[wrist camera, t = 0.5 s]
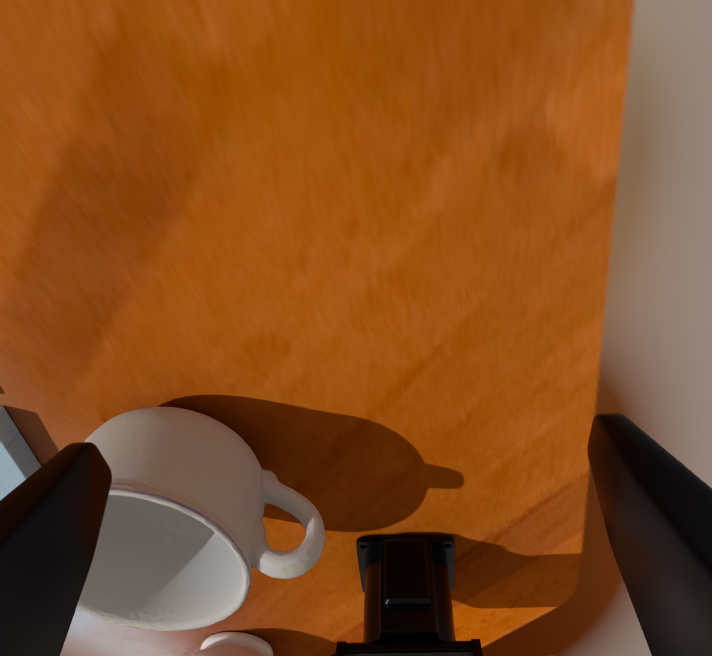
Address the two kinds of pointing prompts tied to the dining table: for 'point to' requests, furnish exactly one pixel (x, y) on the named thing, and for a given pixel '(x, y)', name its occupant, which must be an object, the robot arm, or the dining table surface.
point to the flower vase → (234, 645)
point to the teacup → (186, 522)
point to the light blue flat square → (14, 457)
